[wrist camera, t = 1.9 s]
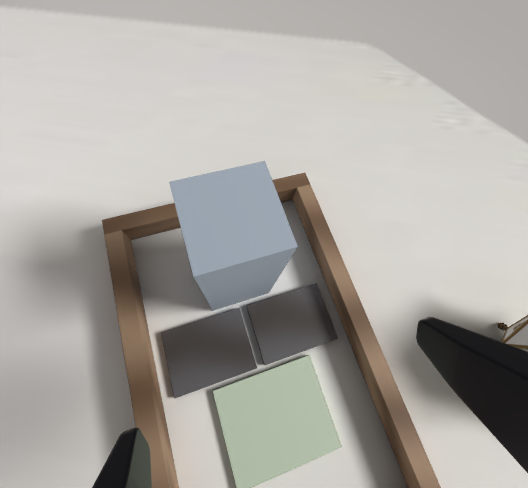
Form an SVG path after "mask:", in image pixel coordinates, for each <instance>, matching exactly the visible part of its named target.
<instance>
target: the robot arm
mask: <svg viewBox="0 0 528 488" xmlns="http://www.w3.org/2000/svg"><path fill="white" fill-rule="evenodd" d="M416 339H417V343H418V345H419V346H420V348H421V349H422V350H423V351H424V353H425V354H426V355H427V357H428V358H429V359H430V361H431V362H432V363H433V365H434V366H435V367H436V369H437V370H438V371H439V373H440V374H441V375H442V377H443V378H444V379H445V381H446V382H447V383H448V384H449V386H450V387H451V388H452V389H453V390H454V392H455V393H456V394H457V395H458V396H459V397H460V398H461V399H462V401H463V402H464V403H465V404H466V405H467V406H468V407H469V408H470V409H471V411H472V412H473V413H474V414H475V415H476V416H477V417H478V418H479V419H480V421H481V422H482V423H483V424H484V425H485V426H486V427H487V428H488V429H489V431H490V432H491V433H492V434H493V435H494V436H495V437H496V438H497V439H498V441H499V442H500V443H501V444H502V445H503V446H504V447H505V448H506V449H507V451H508V452H509V453H510V454H511V455H512V456H513V457H514V458H515V459H516V461H517V462H518V463H519V464H520V465H521V466H522V467H523V468H524V469H525V471H526V472H527V473H528V351H525V350H522V349H520V348H517V347H514V346H511V345H508V344H506V343H503V342H500V341H497V340H495V339H492V338H489V337H486V336H483V335H481V334H478V333H475V332H472V331H470V330H467V329H464V328H461V327H459V326H456V325H453V324H450V323H447V322H445V321H442V320H439V319H436V318H433V317H427V318H425V319H422V320H420V321H419V322H418V328H417V336H416ZM92 488H152V478H151V458H150V448H149V444H148V442H147V440H146V439H145V437H144V435H143V434H142V432H141V430H140V429H139V428H137V427H136V428H133V429H130V430H127V431H125V432H123V433H122V434H121V435H120V436H119V438H118V440H117V442H116V444H115V446H114V448H113V449H112V451H111V453H110V455H109V457H108V459H107V461H106V463H105V465H104V466H103V468H102V470H101V472H100V474H99V476H98V478H97V480H96V481H95V483H94V485H93V487H92Z"/></svg>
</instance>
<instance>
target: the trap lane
mask: <svg viewBox="0 0 528 488" xmlns="http://www.w3.org/2000/svg"><path fill="white" fill-rule="evenodd" d="M272 181H273V184H274V186H275V189H276V191H277V194H278V197H279V199H280V202H284V201H288V200H293V202H294V205H295V207H296V210H297V212H298V215H299V217H300V220H301V222H302V224H303V227H304V229H305V232H306V234H307V237H308V239H309V242H310V244H311V247H312V249H313V252H314V254H315V257H316V259H317V262H318V264H319V267H320V269H321V272H322V274H323V277H324V279H325V282H326V284H327V287H328V289H329V292H330V294H331V297H332V299H333V302H334V304H335V307H336V309H337V312H338V314H339V317H340V319H341V322H342V324H343V327H344V329H345V332H346V334H347V337H348V339H349V342H350V344H351V347H352V349H353V352H354V354H355V357H356V359H357V362H358V364H359V367H360V369H361V372H362V374H363V377H364V379H365V382H366V384H367V387H368V389H369V392H370V394H371V397H372V399H373V402H374V404H375V407H376V409H377V412H378V414H379V417H380V419H381V422H382V424H383V427H384V429H385V432H386V434H387V437H388V439H389V442H390V444H391V447H392V449H393V452H394V454H395V457H396V459H397V462H398V464H399V467H400V469H401V472H402V474H403V477H404V479H405V482H406V484H407V487H408V488H441V487H440V485H439V483H438V480H437V478H436V476H435V473H434V471H433V469H432V466H431V464H430V462H429V459H428V457H427V455H426V452H425V450H424V448H423V445H422V443H421V441H420V438H419V436H418V434H417V431H416V429H415V427H414V425H413V422H412V420H411V418H410V415H409V413H408V411H407V408H406V406H405V404H404V401H403V399H402V397H401V394H400V392H399V390H398V387H397V385H396V383H395V380H394V378H393V376H392V373H391V371H390V369H389V366H388V364H387V362H386V359H385V357H384V355H383V352H382V350H381V348H380V345H379V343H378V341H377V339H376V336H375V334H374V332H373V329H372V327H371V325H370V322H369V320H368V318H367V315H366V313H365V311H364V308H363V306H362V304H361V301H360V299H359V297H358V294H357V292H356V290H355V287H354V285H353V283H352V280H351V278H350V276H349V273H348V271H347V269H346V266H345V264H344V262H343V259H342V257H341V255H340V253H339V250H338V248H337V246H336V243H335V241H334V239H333V236H332V234H331V232H330V229H329V227H328V225H327V222H326V220H325V218H324V215H323V213H322V211H321V208H320V206H319V204H318V201H317V199H316V197H315V194H314V192H313V190H312V187H311V185H310V183H309V180H308V178H307V176H306V173H301V174H297V175H293V176H288V177H284V178H280V179H276V180H272ZM102 223H103V229H104V235H105V241H106V247H107V253H108V259H109V265H110V271H111V277H112V284H113V290H114V296H115V302H116V308H117V314H118V320H119V326H120V332H121V339H122V345H123V351H124V357H125V363H126V369H127V375H128V381H129V387H130V393H131V400H132V406H133V412H134V418H135V424H136V427H137V428H139V429H140V430H141V432H142V434H143V435H144V437H145V439H146V440H147V442H148V444H149V448H150V458H151V478H152V488H179V486H178V481H177V476H176V471H175V465H174V460H173V455H172V450H171V445H170V440H169V434H168V429H167V424H166V419H165V414H164V409H163V403H162V398H161V393H160V388H159V383H158V378H157V372H156V367H155V362H154V357H153V352H152V347H151V341H150V336H149V331H148V326H147V321H146V316H145V310H144V305H143V300H142V295H141V290H140V285H139V279H138V274H137V269H136V264H135V259H134V254H133V248H132V243H131V240H133V239H137V238H141V237H145V236H149V235H152V234H156V233H160V232H164V231H168V230H172V229H176V228H180V227H181V226H180V222H179V218H178V214H177V210H176V207H175V203H173V204H168V205H164V206H160V207H156V208H151V209H147V210H143V211H138V212H134V213H130V214H126V215H121V216H117V217H113V218H108V219H104V220H102ZM247 309H248V312H249V315H250V319H251V322H252V325H253V329H254V332H255V335H256V338H257V342H258V345H259V348H260V352H261V355H262V358H263V361H264V365H267V364H270V363H273V362H275V361H278V360H281V359H283V358H286V357H289V356H292V355H294V354H297V353H300V352H303V351H305V350H308V349H311V348H313V347H316V346H319V345H322V344H324V343H327V342H330V341H332V340H335V339H338V337H337V335H336V332H335V329H334V327H333V324H332V322H331V319H330V317H329V314H328V311H327V309H326V306H325V304H324V301H323V299H322V296H321V294H320V291H319V288H318V286H317V283H316V284H312V285H309V286H306V287H303V288H300V289H297V290H294V291H291V292H287V293H284V294H281V295H278V296H275V297H272V298H269V299H265V300H262V301H259V302H256V303H253V304H250V305H247ZM161 335H162V340H163V345H164V350H165V354H166V359H167V364H168V369H169V374H170V379H171V384H172V388H173V393H174V398H177V397H180V396H183V395H185V394H188V393H191V392H194V391H196V390H199V389H202V388H204V387H207V386H210V385H213V384H215V383H218V382H221V381H224V380H226V379H229V378H232V377H234V376H237V375H240V374H243V373H245V372H248V371H251V370H253V369H256V368H257V366H256V363H255V359H254V356H253V353H252V349H251V346H250V342H249V339H248V336H247V332H246V329H245V326H244V322H243V319H242V315H241V312H240V309H239V308H237V309H234V310H231V311H228V312H225V313H222V314H219V315H215V316H212V317H209V318H206V319H203V320H200V321H197V322H193V323H190V324H187V325H184V326H181V327H178V328H175V329H172V330H168V331H165V332H162V333H161Z"/></svg>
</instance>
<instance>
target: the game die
mask: <svg viewBox="0 0 528 488" xmlns="http://www.w3.org/2000/svg"><path fill="white" fill-rule="evenodd" d="M497 325H498V328H500V329H502V330H503V331H504V330H505V334H504V336H503V339H502V341H501V342H503V343H506V344H508V345H511V346H514V347H517V348H520V349H522V350H525V351H528V315H527V316H526V317H524V318H522V319H521V320H519V321H518V322H516V323H514V324H513V325H511V326H510V327H507V325H505V324H504V323H497Z"/></svg>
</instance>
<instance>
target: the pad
mask: <svg viewBox="0 0 528 488" xmlns="http://www.w3.org/2000/svg"><path fill="white" fill-rule="evenodd" d="M213 394H214V398H215V402H216V406H217V410H218V414H219V418H220V422H221V426H222V430H223V435H224V439H225V443H226V447H227V451H228V455H229V459H230V463H231V467H232V471H233V475H234V479H235V483H236V487H237V488H252V487H254V486H256V485H259V484H261V483H263V482H265V481H267V480H270V479H272V478H274V477H276V476H279V475H281V474H283V473H285V472H287V471H290V470H292V469H294V468H296V467H298V466H301V465H303V464H305V463H307V462H310V461H312V460H314V459H316V458H318V457H321V456H323V455H325V454H327V453H329V452H332V451H334V450H336V449H338V448H340V447H342V445H341V443H340V440H339V437H338V434H337V431H336V429H335V426H334V423H333V420H332V417H331V414H330V412H329V409H328V406H327V403H326V400H325V397H324V395H323V392H322V389H321V386H320V383H319V381H318V378H317V375H316V372H315V369H314V366H313V364H312V361H311V358H310V355H307V356H304V357H302V358H299V359H296V360H294V361H291V362H288V363H286V364H283V365H280V366H277V367H275V368H272V369H269V370H267V371H264V372H261V373H259V374H256V375H253V376H251V377H248V378H245V379H243V380H240V381H237V382H234V383H232V384H229V385H226V386H224V387H221V388H218V389H216V390H213Z"/></svg>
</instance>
